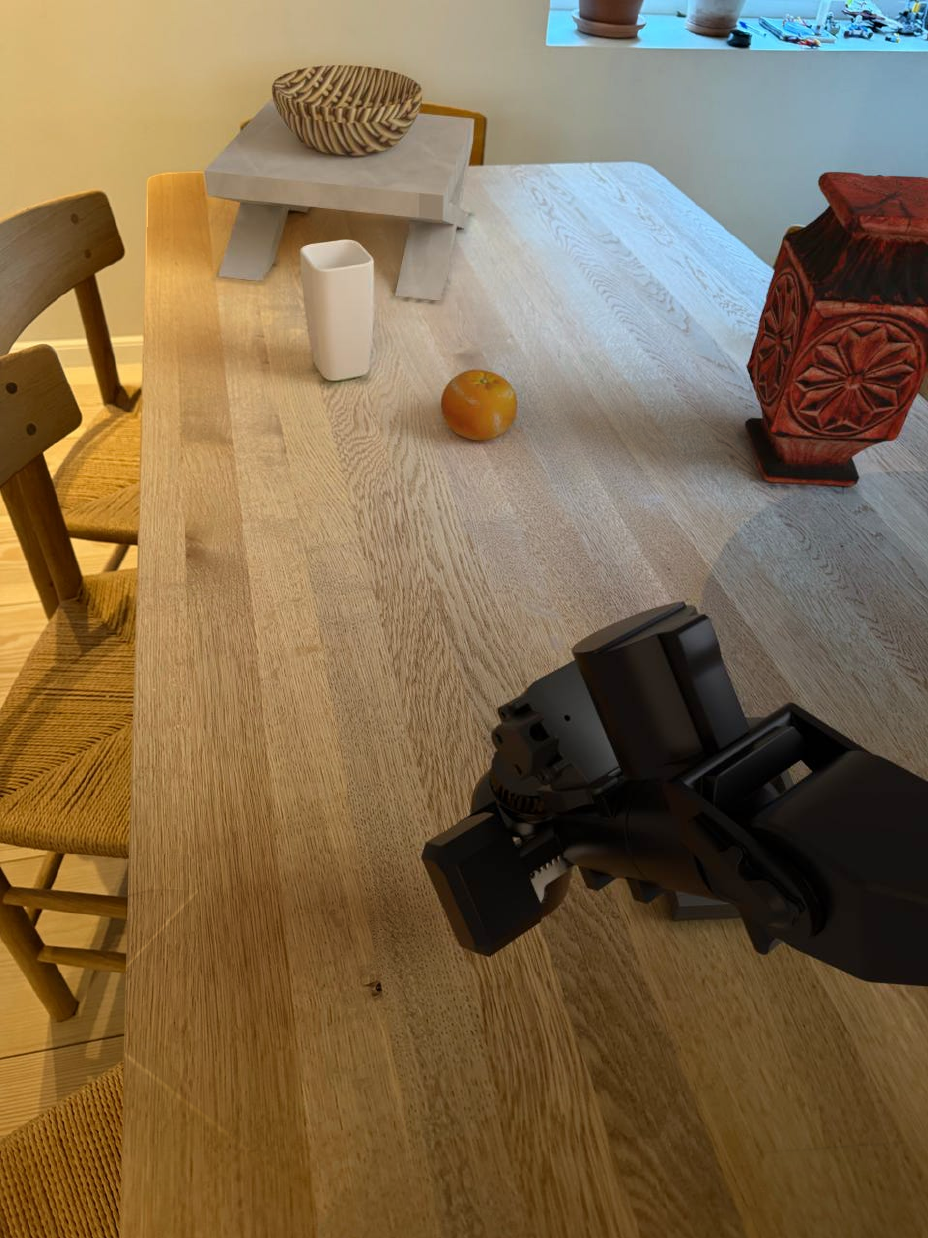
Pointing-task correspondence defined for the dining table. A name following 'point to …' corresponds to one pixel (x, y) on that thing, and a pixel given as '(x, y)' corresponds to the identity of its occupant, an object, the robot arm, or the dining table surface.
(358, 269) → the cup
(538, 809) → the supplement bottle
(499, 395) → the fruit
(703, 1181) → the dining table surface
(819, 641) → the dining table surface
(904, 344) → the vase
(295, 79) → the grey stand with bowl
